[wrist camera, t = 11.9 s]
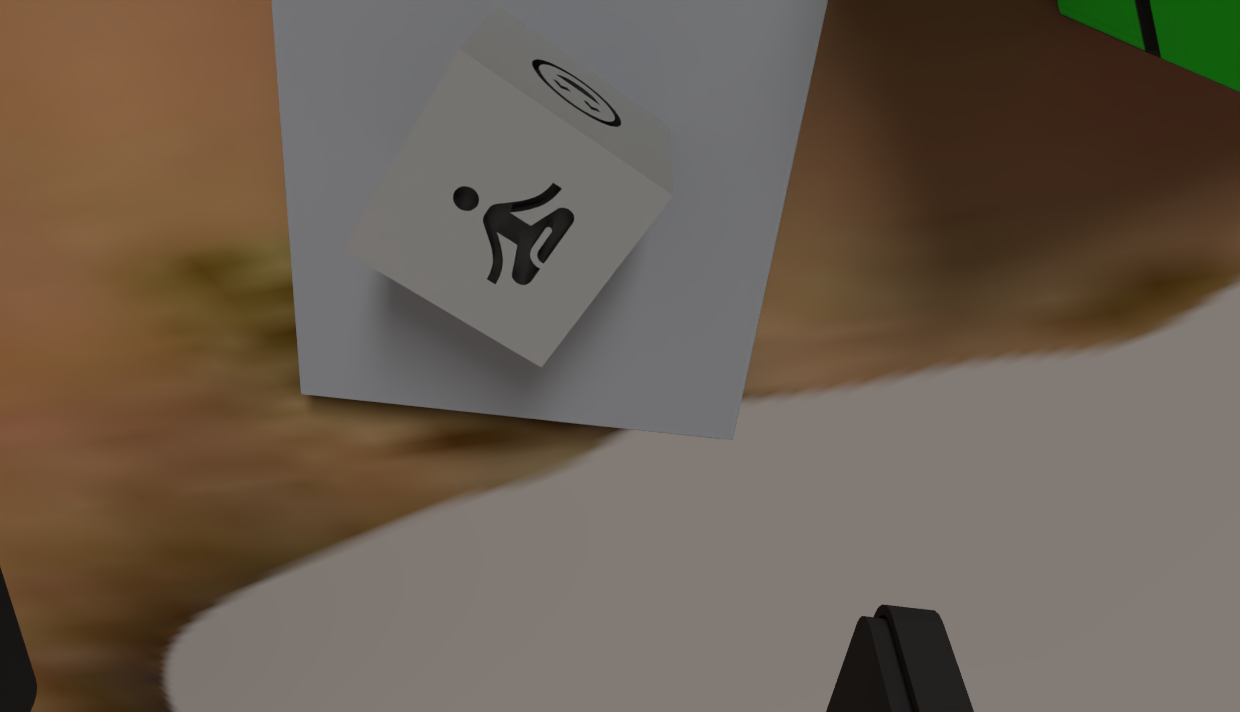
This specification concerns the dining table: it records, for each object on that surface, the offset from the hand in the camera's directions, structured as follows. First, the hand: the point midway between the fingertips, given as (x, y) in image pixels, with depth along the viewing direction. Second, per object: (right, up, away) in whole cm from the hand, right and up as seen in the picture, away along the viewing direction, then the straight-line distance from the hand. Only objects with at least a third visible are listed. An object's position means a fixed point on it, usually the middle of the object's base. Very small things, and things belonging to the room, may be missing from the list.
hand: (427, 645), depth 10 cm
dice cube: (0, +9, +13) cm, 16 cm away
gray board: (0, +8, +15) cm, 17 cm away
